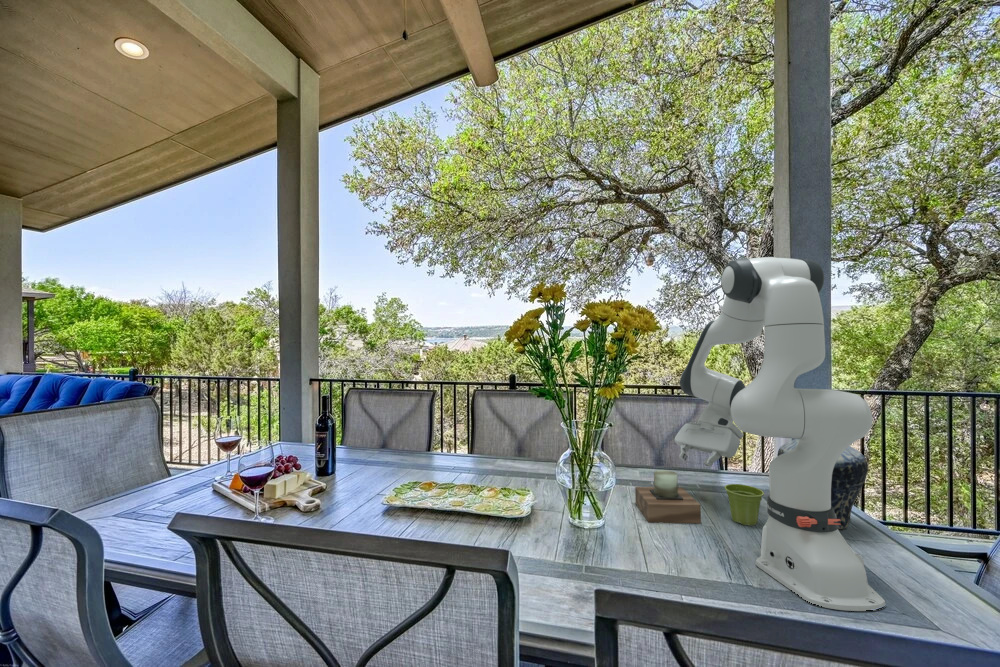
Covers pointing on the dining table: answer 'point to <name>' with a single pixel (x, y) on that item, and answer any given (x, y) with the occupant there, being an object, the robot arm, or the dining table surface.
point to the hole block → (667, 506)
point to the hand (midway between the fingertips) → (693, 462)
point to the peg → (665, 483)
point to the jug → (842, 480)
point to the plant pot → (744, 503)
